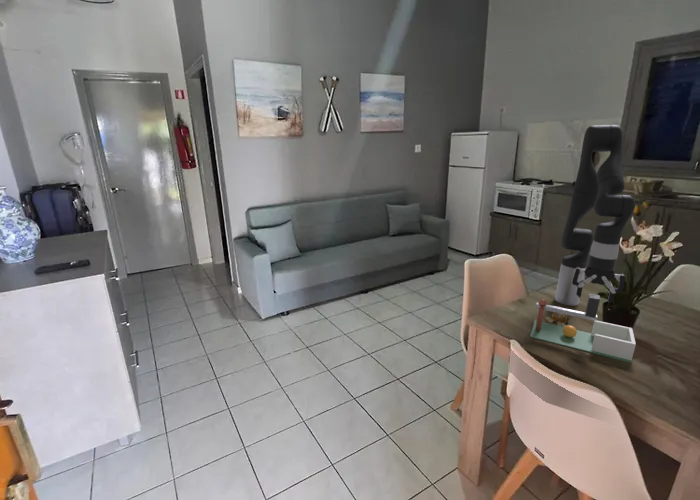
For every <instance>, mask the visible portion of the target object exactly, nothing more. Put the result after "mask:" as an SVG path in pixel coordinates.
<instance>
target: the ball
mask: <svg viewBox="0 0 700 500" xmlns="http://www.w3.org/2000/svg"><path fill="white" fill-rule="evenodd" d="M563 327H564V328H563V334H564V335H565V336H566V337H569V338H572V337H574V336H576V334H577V329H576V327H575V326H573V325H570V324H568V325H566V326H563Z"/></svg>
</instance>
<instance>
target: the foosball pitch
mask: <svg viewBox="0 0 700 500" xmlns="http://www.w3.org/2000/svg"><path fill="white" fill-rule="evenodd" d="M536 324H537V319H536V320H535V319H534V321H533V326H532V328H531V332H530V335H529V337H530V339H531V338H532V339H534V340H535V339H536V340H539V341H544V342H547V343H552V344H556V345H559V346H564V347H566V348H567V347H568V348H571V349H576V350H579V351H582V352H587V353H591V354H594V355H599V356H602V357H606V358H611V359H615V360H618V361H622V362H626V363H630V364H632V363H633V361H632V360H633V356H634V353H635V349H636V345H637V344H636V339H635V335H634V331H633V327H630V326H629V327H628V326H623V325H619V324H614V323H610V322H605V321H601V320H597V321H594V320H593V325H592V330H591V332H588V331H587V332H586V331H584V330H583V331H582V330H577V329H576V330H577V334H576V336H574V337H572V338H569V337H566V336H565V335H564V334H563V328H564V327H565V326H563V327H562V325H560V326H558V325H557V324H552V323H550V322H544V321H542V326H541V330H540V331H537V330H536Z"/></svg>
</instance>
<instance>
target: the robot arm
mask: <svg viewBox="0 0 700 500" xmlns="http://www.w3.org/2000/svg"><path fill="white" fill-rule="evenodd" d="M623 136H624V134H623V129H622V127H621V126H620V125H619V124H601V125H600V124H597V125H596V124H595V125H590V126H588V127H587V128H586V130H585V131H584V136H583V140H582V147H581V153H580V161H579V167H578V170H577V175H576V179H575V183H574V186H573V190H572V194H571V201H570V206H569V211H568V215H567V219H566V222H565V225H564V229H563V231H562V236H561V243H560V244H561V247H562V248H563V249H565V250H570V251H571V250H572V251H578V252H576V253H575V252H574V253H573V254H569V255H564V256H563V257H562V259H561V261H560V262H561V263H560V269H559V274H558V278H557V279H558V280H557V286H556V289H555V290H556V291H555V296H554V300H555V301H556V302H557V303H559V304H562V305H565V306H569V307H570V306H572V307H573V306H579V304H580V299H581V296H582V292H583V287H584V286H585V285H587V284H589V283H591V284H596V285H597V284H598V285H599V286H600V285H601V286H604V285H605V286H606V287H607V288H608V290H609V293H608V297H607V303H608V304H611V303H613V302H614V299H615V296H616V294H617V293H618V294H619V293H620V294H622V293H623V291H624V288H625V287H624V285H625V281H626V280H625V279H626V275H625V274H624V273H620V274H619V273H615V269H616V264H617V259H618V257H619V251H620V250H619V249H620V242H621V238H622V234H623V231H624V228H625V227H626V225H627V223H628V222H629V221H628V220H629V219H630V218H631V216H632V215H633V213H634V212H635V209H636V200H635V198H634V197H633V196H631V195H629V194H621V193H622V192H623V191H624V190H625V179H624V174H623V167H622V166H623V164H622V163H623V162H622V161H623V145H624V143H623V140H624V137H623ZM598 152H599V153H600V152H602V153H604V152H609V153H610V154H609V155H608V157H607V158H606V159H605V160H604V162H602V163H601V165H600V166H599V168H598V170H596V168H595V165H594V163H593V154H594V153H598ZM591 210H594V213H595V214H597V216H600V217H610V218H611V217H613V218H614V219H613V220H611V221H608V222H601V223H598V224H597V225H596V227H595V231H594V232H593V230H591V229H589V228H579V227H578V228H577V227H576V226H577V225H578V223H579V222H580V221H581V219H582V218H583V217H585V216H586V215H587V214H588V213H589V212H590V211H591ZM614 278H615V279H616V281H617V282H618V283H617V287H614V285H613V283H612V282H611V281H612V280H613V279H614Z"/></svg>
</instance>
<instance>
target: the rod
mask: <svg viewBox="0 0 700 500" xmlns="http://www.w3.org/2000/svg"><path fill="white" fill-rule="evenodd" d="M600 301H601V296H600V295H599V294H595V293H588V298H587V301H586V306H585V311H584V312H583V311H579V310H575V309H569V308H565V307H560V306H557V305H556V306H555V305H550V304H548V302H547V300H546V299H544V298H543V299H540V300H538V302H536V304H535V309H538V313H537V314H538V315H537V317H536V321H537V324H536V330H537V331H540V330H541V326H542V322H543V320H544V315H545V314H544V312H545V311H548V312H552V313H554V312H556V313H561V314H566V315H568V316H571V317H576V318H581V319H584V320H590V321H593V322H594V321H598V314H597V313H598V311H599V310H598V309H599V306H600V305H599V304H600Z"/></svg>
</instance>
